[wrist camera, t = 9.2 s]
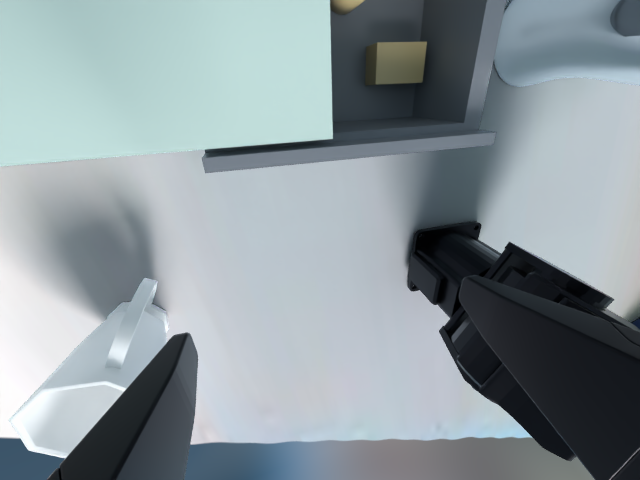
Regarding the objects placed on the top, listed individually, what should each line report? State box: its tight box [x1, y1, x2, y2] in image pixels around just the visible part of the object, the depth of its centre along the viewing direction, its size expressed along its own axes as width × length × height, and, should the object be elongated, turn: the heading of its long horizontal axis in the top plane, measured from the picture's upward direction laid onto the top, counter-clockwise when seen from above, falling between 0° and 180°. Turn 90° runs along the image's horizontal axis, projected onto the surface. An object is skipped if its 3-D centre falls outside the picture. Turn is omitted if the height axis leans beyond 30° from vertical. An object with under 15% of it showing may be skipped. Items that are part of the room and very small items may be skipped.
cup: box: [9, 278, 169, 458], centre depth 18 cm, size 7×10×8 cm
